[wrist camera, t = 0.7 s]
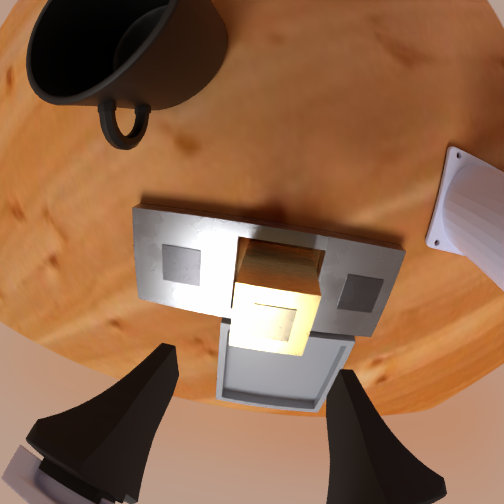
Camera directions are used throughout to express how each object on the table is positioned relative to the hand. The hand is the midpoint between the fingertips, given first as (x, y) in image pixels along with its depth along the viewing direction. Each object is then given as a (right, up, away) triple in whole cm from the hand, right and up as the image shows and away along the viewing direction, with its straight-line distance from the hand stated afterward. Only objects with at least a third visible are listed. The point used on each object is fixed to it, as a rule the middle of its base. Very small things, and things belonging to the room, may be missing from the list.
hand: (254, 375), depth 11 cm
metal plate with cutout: (+1, +4, +10) cm, 10 cm away
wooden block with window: (+2, +4, +10) cm, 10 cm away
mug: (-6, +18, +4) cm, 20 cm away
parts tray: (+2, -6, +14) cm, 15 cm away
